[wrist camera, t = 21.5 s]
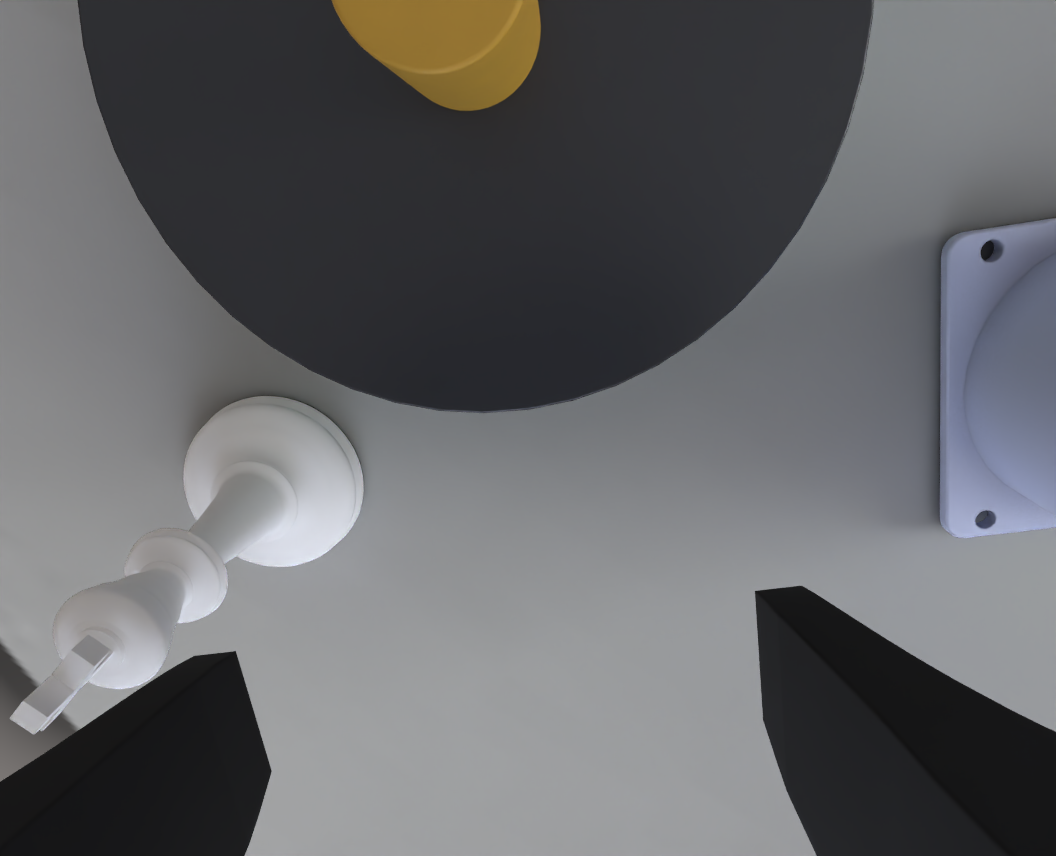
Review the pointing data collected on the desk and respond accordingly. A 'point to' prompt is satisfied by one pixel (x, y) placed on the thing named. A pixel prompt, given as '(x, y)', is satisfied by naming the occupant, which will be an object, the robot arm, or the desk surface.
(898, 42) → the desk surface
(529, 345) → the lid
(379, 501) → the desk surface
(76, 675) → the chess piece
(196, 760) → the robot arm
